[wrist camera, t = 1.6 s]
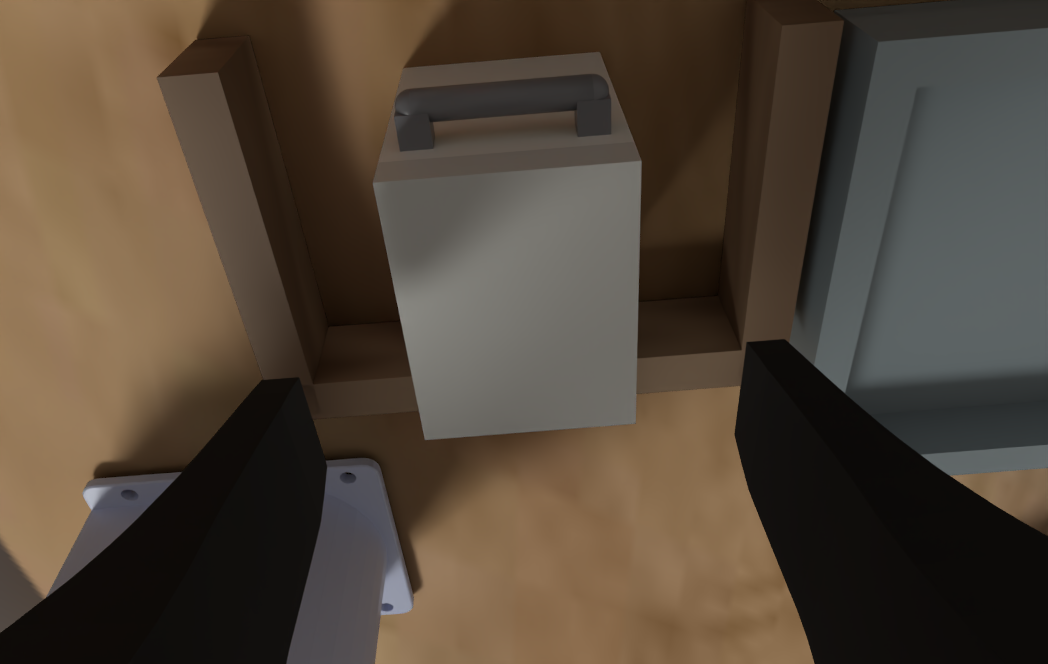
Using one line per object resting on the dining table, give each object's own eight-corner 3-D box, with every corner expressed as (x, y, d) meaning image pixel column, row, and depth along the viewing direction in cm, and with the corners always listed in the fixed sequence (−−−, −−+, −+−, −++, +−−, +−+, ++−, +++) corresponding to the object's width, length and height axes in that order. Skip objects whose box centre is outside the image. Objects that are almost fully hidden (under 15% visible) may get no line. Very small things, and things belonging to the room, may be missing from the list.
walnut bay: (296, 363, 23) (278, 422, 21) (195, 40, 17) (156, 77, 15) (756, 326, 22) (782, 382, 20) (801, -11, 17) (844, 20, 15)
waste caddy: (439, 286, 21) (424, 440, 17) (396, 21, 17) (360, 125, 12) (601, 272, 21) (635, 423, 16) (599, 4, 17) (643, 102, 12)
